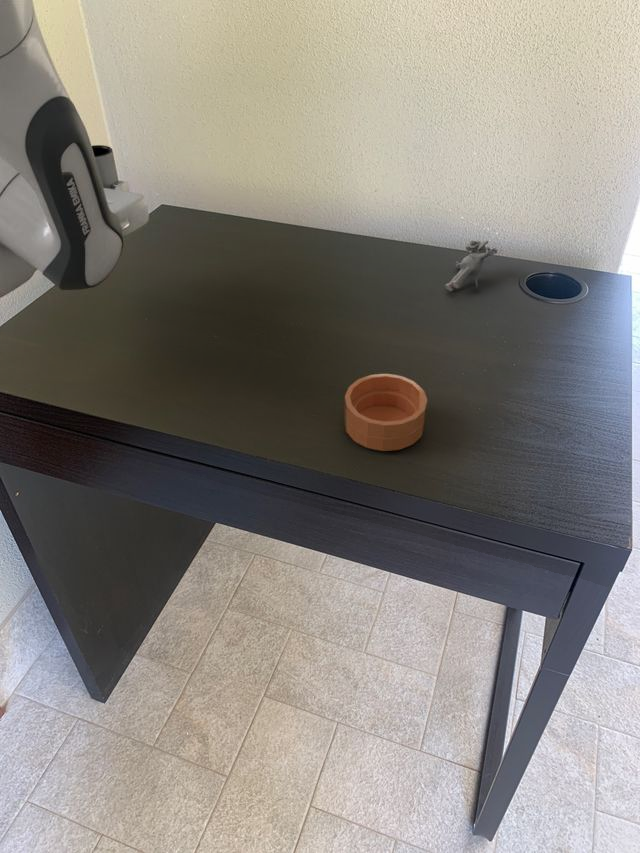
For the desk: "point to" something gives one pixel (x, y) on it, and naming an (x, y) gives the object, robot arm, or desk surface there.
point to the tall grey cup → (105, 165)
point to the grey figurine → (470, 263)
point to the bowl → (385, 412)
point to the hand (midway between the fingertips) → (106, 183)
